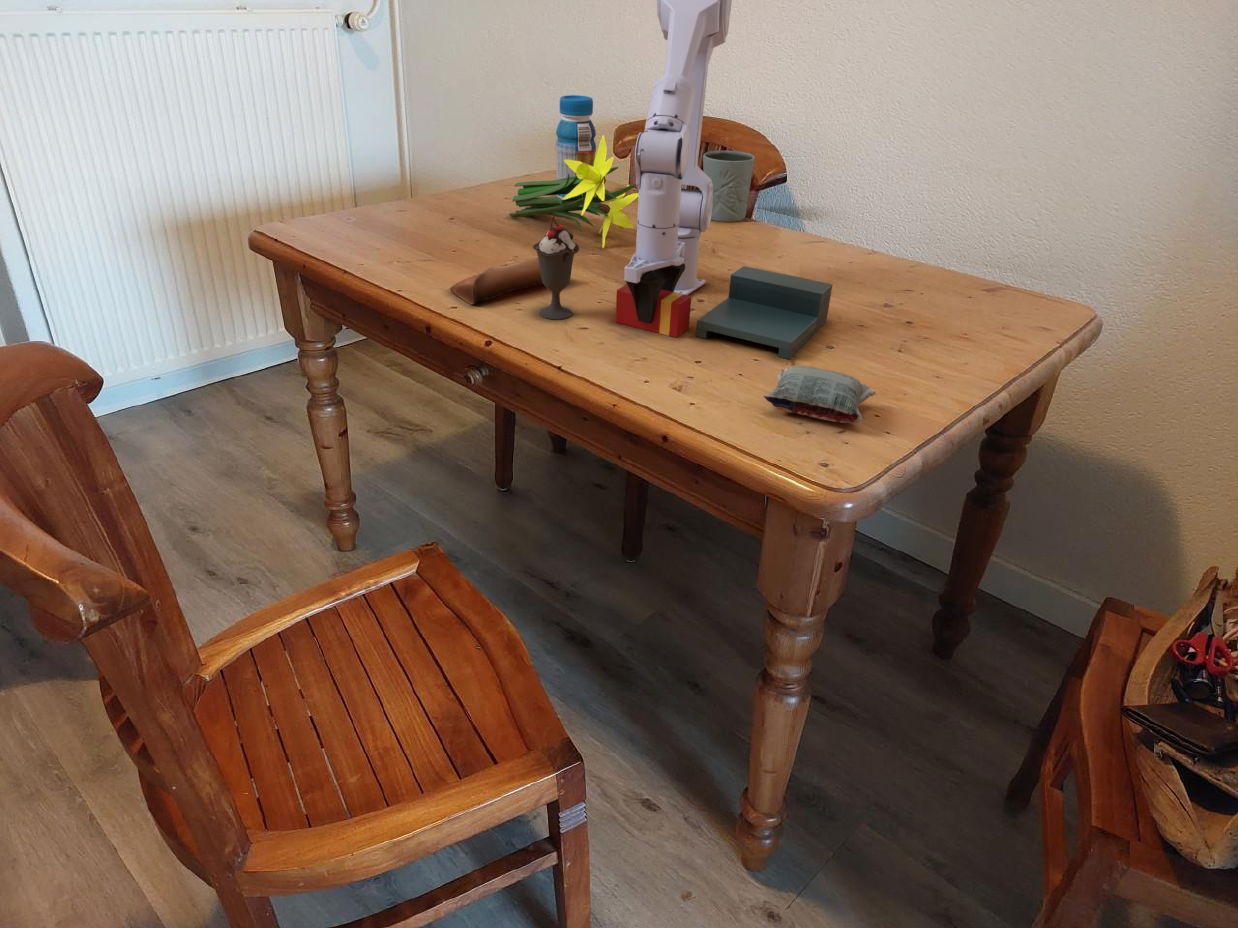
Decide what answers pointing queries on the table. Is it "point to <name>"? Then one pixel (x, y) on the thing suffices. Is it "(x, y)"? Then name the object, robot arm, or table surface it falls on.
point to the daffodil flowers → (576, 185)
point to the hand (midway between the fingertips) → (652, 316)
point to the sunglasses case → (498, 281)
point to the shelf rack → (769, 310)
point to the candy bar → (656, 312)
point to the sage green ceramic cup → (729, 183)
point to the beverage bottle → (575, 134)
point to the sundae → (556, 267)
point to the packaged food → (819, 394)
